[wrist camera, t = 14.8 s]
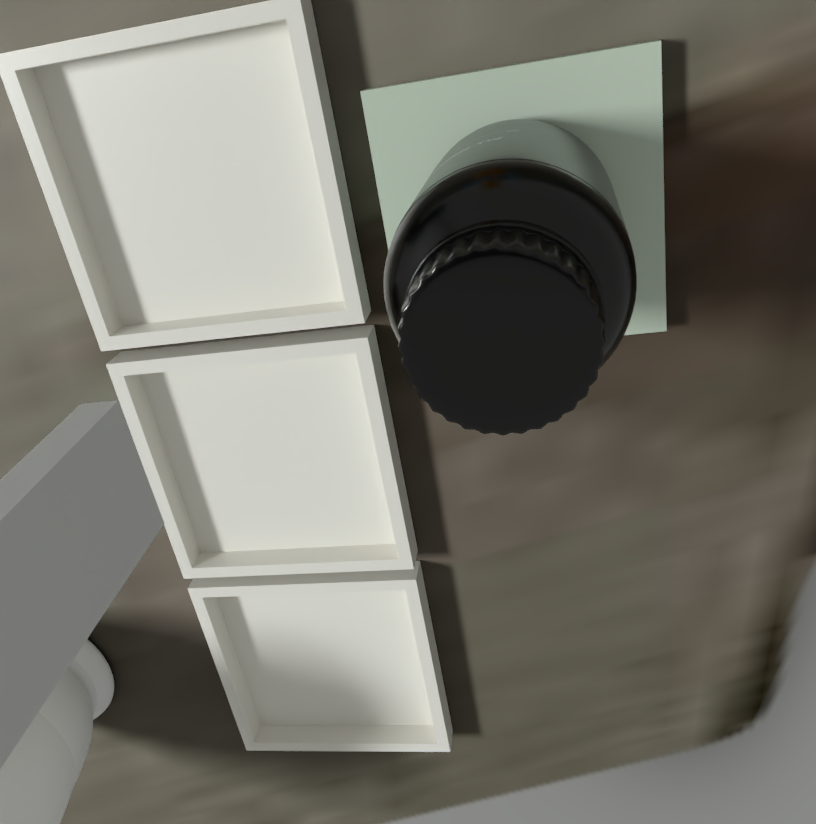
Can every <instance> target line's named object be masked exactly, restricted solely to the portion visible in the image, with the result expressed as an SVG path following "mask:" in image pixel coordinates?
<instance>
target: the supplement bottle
mask: <svg viewBox="0 0 816 824" xmlns="http://www.w3.org/2000/svg"><path fill="white" fill-rule="evenodd" d="M636 290H637V274H636V265H635V257H634V253H633V248H632V244H631V241H630V238H629V235H628V232H627V229H626V226H625V223H624V220H623V217H622V214H621V211H620V208H619V204H618V201H617V198H616V195H615V192H614V189H613V186H612V184H611V181H610V179H609V177H608V174H607V172H606V170H605V168H604V167H603V165H602V163H601V162H600V160H599V159H598V157H597V156H596V155H595V153H594V152H593V151H592V150H591V149H590V148H589V147H588V146H587V145H586V144H585V143H584V142H583V141H582V140H580V139H579V138H578V137H576V136H575V135H573V134H572V133H570V132H569V131H567V130H565V129H563V128H561V127H559V126H556V125H554V124H551V123H547V122H544V121H538V120H531V119H512V120H504V121H500V122H495V123H492V124H489V125H486V126H484V127H482V128H480V129H477V130H476V131H474V132H472V133H470V134H469V135H467V136H466V137H464V138H463V139H461V140H460V141H459V142H458V143H457V144H455V145H454V146H453V147H452V148H451V149H450V150H449V151H448V152H447V153H446V154H445V156H444V157H443V158H442V159H441V161H440V162H439V163H438V165H437V166H436V167H435V169H434V170H433V172H432V174H431V175H430V177H429V178H428V180H427V181H426V183H425V184H424V186H423V187H422V189H421V190H420V192H419V194H418V195H417V197H416V198H415V200H414V201H413V203H412V204H411V206H410V208H409V209H408V211H407V212H406V214H405V215H404V217H403V219H402V220H401V222H400V224H399V226H398V228H397V230H396V232H395V234H394V237H393V239H392V242H391V245H390V248H389V250H388V254H387V258H386V263H385V270H384V298H385V304H386V310H387V314H388V317H389V321H390V324H391V326H392V329H393V331H394V333H395V335H396V337H397V339H398V341H399V343H398V349H399V351H400V353H401V355H402V367H403V368H404V370H405V371H406V372H407V373H408V380H409V383H410V384H411V385H412V386H413V387H414V388H416V389H417V393H418V395H419V398H421V399H422V400H424V401H426V402H427V403H428V404H429V406H430V407H431V409H432V410H433V411H434V412H437V413H440V414H442V415H443V416H444V417H445V419H446V420H447V421H449V422H453V423H458V424H459V425H460V426H462V427H463V428H465V429H475V430H477V431H479V432H481V433H483V434H488V433H496V434H500V435H506V434H509V433H512V432H513V433H520V434H522V433H524V432H526V431H528V430H530V429H541V428H542V427H544V426H545V425H546V424H547V423H550V422H555V421H558V420H559V419H560V418H561V417H562V415H563V414H564V413H567V412H570V411H572V410H574V408H575V407H576V405H577V402H578V401H579V400H581V399H583V398H585V397H586V396H587V394H588V391H589V386H590V385H592V384H593V383H594V382H595V381H596V380H597V377H598V369H599V368H600V367H601V366H603V365H604V363H605V362H606V361H607V360H608V359H609V358H610V356H611V355H612V354H613V352H614V351H615V350H616V348H617V347H618V345H619V343H620V342H621V340H622V338H623V336H624V334H625V332H626V330H627V327H628V325H629V323H630V320H631V316H632V313H633V309H634V305H635V300H636Z"/></svg>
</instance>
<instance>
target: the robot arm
mask: <svg viewBox="0 0 816 824" xmlns="http://www.w3.org/2000/svg"><path fill="white" fill-rule="evenodd" d="M163 525H164V521H163V518H162V516H161V513H160V510H159V508H158V505H157V502H156V500H155V497H154V494H153V492H152V489H151V486H150V483H149V481H148V478H147V475H146V473H145V470H144V467H143V465H142V462H141V459H140V457H139V454H138V451H137V449H136V446H135V443H134V441H133V438H132V435H131V433H130V430H129V427H128V425H127V422H126V419H125V417H124V414H123V411H122V409H121V406H120V403H119V401H108V402H97V403H87V404H80V405H79V406H78V407H77V408H76V409H75V410H74V411H73V412H72V413H71V414H70V415H69V416H67V417H66V418H65V419H64V420H63V421H62V422H61V423H60V424H59V425H58V426H57V427H56V428H55V429H54V430H53V431H52V432H50V433H49V434H48V435H47V436H46V437H45V438H44V439H43V440H42V441H41V442H40V443H39V444H38V445H37V446H36V447H35V448H33V449H32V450H31V451H30V452H29V453H28V454H27V455H26V456H25V457H24V458H23V459H22V460H21V461H20V462H19V463H17V464H16V465H15V466H14V467H13V468H12V469H11V470H10V471H9V472H8V473H7V474H6V475H5V476H4V477H3V478H2V479H0V769H1V767H2V766H3V764H4V763H5V761H6V760H7V758H8V757H9V755H10V754H11V752H12V751H13V749H14V748H15V746H16V745H17V743H18V742H19V740H20V739H21V737H22V736H23V734H24V733H25V731H26V730H27V728H28V727H29V725H30V724H31V722H32V721H33V719H34V718H35V716H36V715H37V713H38V712H39V710H40V709H41V707H42V706H43V704H44V703H45V701H46V700H47V698H48V697H49V695H50V694H51V692H52V691H53V689H54V688H55V686H56V685H57V683H58V682H59V680H60V679H61V677H62V676H63V674H64V673H65V671H66V670H67V668H68V667H69V665H70V664H71V663H72V661H73V660H74V658H75V657H76V655H77V654H78V652H79V651H80V649H81V648H82V646H83V645H84V643H85V642H86V640H87V639H88V637H89V636H90V634H91V633H92V631H93V630H94V628H95V627H96V625H97V624H98V622H99V621H100V619H101V618H102V616H103V615H104V613H105V612H106V610H107V609H108V607H109V606H110V604H111V603H112V601H113V600H114V598H115V597H116V595H117V594H118V592H119V591H120V589H121V588H122V586H123V585H124V583H125V582H126V580H127V579H128V577H129V576H130V574H131V573H132V571H133V570H134V568H135V567H136V565H137V564H138V562H139V561H140V559H141V558H142V556H143V555H144V553H145V552H146V550H147V549H148V547H149V546H150V544H151V543H152V541H153V540H154V538H155V537H156V535H157V534H158V532H159V531H160V529H161V528H162V526H163Z"/></svg>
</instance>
